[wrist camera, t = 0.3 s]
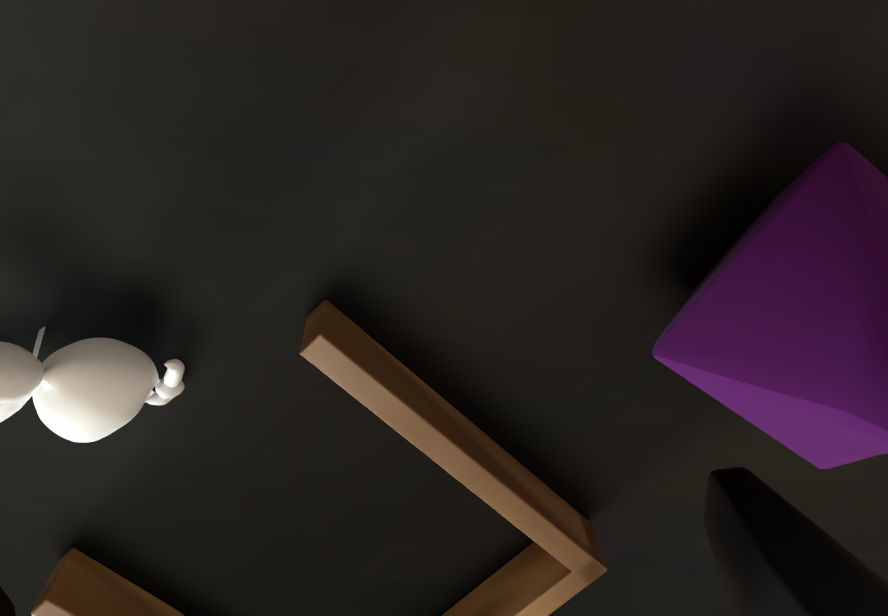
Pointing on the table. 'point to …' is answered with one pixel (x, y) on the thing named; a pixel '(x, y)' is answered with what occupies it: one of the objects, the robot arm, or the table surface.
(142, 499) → the table surface
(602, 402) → the table surface
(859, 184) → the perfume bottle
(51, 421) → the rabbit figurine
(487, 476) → the frame
